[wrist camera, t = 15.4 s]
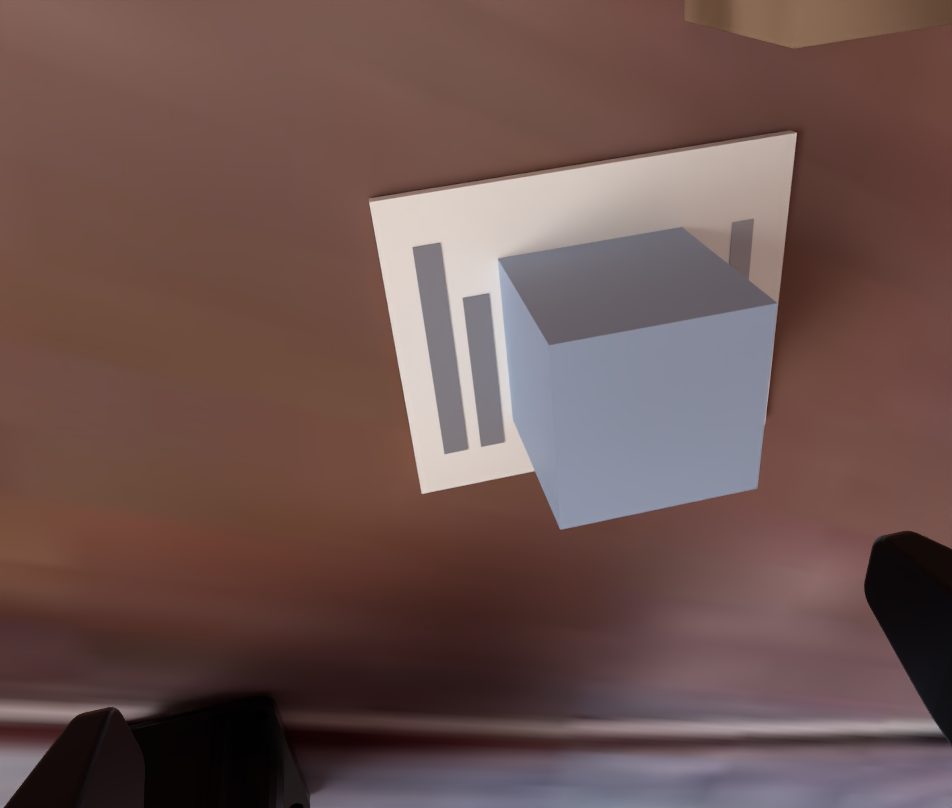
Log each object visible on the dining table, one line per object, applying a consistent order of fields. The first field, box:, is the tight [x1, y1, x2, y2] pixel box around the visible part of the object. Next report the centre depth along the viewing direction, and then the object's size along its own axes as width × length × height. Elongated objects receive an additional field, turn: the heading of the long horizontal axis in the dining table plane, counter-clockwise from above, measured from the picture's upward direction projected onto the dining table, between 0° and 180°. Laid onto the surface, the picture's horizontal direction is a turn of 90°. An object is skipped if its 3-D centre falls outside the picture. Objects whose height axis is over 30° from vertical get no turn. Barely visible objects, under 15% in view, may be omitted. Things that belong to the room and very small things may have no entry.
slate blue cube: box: [498, 227, 778, 530], centre depth 20 cm, size 5×5×5 cm
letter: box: [369, 130, 797, 494], centre depth 22 cm, size 9×11×1 cm
